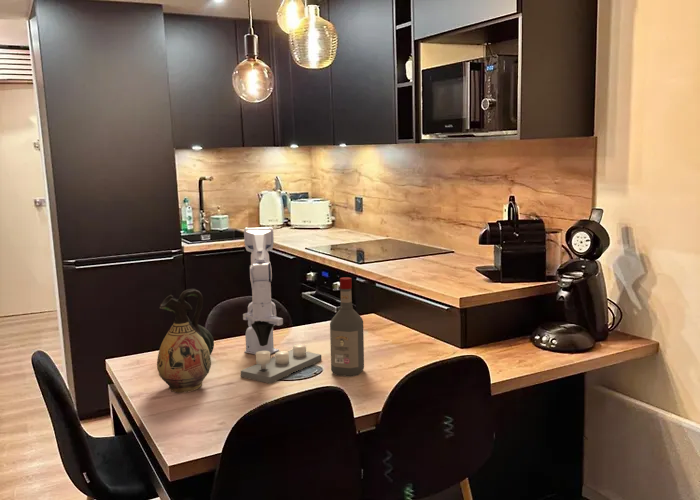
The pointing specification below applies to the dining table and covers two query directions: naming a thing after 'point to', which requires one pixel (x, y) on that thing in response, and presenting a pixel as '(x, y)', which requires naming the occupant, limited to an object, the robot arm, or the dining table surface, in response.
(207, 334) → the squash
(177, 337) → the ceramic jug
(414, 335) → the dining table surface
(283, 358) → the knob middle
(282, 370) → the mount board
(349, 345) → the liquor
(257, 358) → the knob
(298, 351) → the knob
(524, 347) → the dining table surface
